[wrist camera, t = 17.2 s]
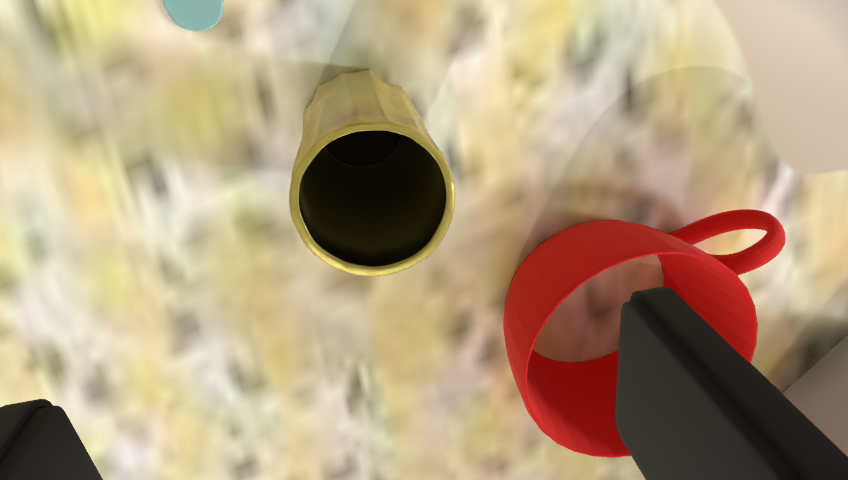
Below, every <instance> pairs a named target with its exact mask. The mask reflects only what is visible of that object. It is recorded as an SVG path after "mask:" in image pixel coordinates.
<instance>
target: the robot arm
mask: <svg viewBox="0 0 848 480" xmlns="http://www.w3.org/2000/svg"><path fill="white" fill-rule="evenodd" d="M615 422H616V426H617V430H618V433H619V435H620V437H621V439H622V441H623V442H624V444H625V446H626V447H627V449H628V451H629V452H630V454H631V456H632V457H633V459H634V461H635V462H636V464H637V466H638V467H639V469H640V471H641V472H642V474H643V476H644V477H645V479H646V480H848V456H847V455H845V454H844V453H843V452H842V451H841V450H840V449H839V448H838V447H837V446H836V445H835V444H834V443H833V442H832V441H831V440H830V439H829V438H828V437H827V436H826V435H825V434H824V433H823V432H822V431H820V430H819V429H818V428H817V427H816V426H815V425H814V424H813V423H812V422H811V421H810V420H809V419H808V418H807V417H806V416H805V415H804V414H803V413H802V412H801V411H800V410H799V409H798V408H797V407H795V406H794V405H793V404H792V403H791V402H790V401H789V400H788V399H787V398H786V397H785V396H784V395H783V394H782V393H781V392H780V391H779V390H778V389H777V388H776V387H775V386H774V385H773V384H772V383H770V382H769V381H768V380H767V379H766V378H765V377H764V376H763V375H762V374H761V373H760V372H759V371H758V370H757V369H756V368H755V367H754V366H753V365H752V364H751V363H750V362H748V361H747V360H746V359H744V358H743V357H742V356H741V355H740V354H739V353H738V352H737V351H736V350H735V349H734V348H733V347H732V346H731V345H730V344H729V343H728V342H727V341H726V340H725V339H723V338H722V337H721V336H720V335H719V334H718V333H717V332H716V331H715V330H714V329H713V328H712V327H711V326H710V325H709V324H708V323H707V322H706V321H705V320H704V319H703V318H702V317H701V316H700V315H699V314H698V313H696V312H695V311H694V310H693V309H692V308H691V307H690V306H689V305H688V304H687V303H686V302H685V301H684V300H683V299H682V298H681V297H680V296H679V295H678V294H677V293H676V292H675V291H674V290H672V289H671V288H670V287H666V286H664V287H659V288H653V289H647V290H642V291H636V292H634V293H632V295H631V297H630V301H629V302H625V303H623V305H622V309H621V324H620V341H619V357H618V374H617V391H616V408H615ZM0 480H103V479H102V477H101V476H100V474H99V472H98V470H97V468H96V467H95V465H94V463H93V461H92V460H91V458H90V456H89V454H88V452H87V451H86V449H85V447H84V445H83V443H82V442H81V440H80V438H79V436H78V434H77V433H76V431H75V429H74V427H73V426H72V424H71V422H70V420H69V418H68V417H67V415H66V413H65V411H64V410H63V409H62V408H61V407H59V406H53V405H52V404H51V402H49V401H47V400H46V399H38V400H33V401H27V402H22V403H16V404H10V405H5V406H3V407H1V408H0Z"/></svg>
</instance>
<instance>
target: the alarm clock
mask: <svg viewBox="0 0 848 480" xmlns="http://www.w3.org/2000/svg"><path fill="white" fill-rule="evenodd" d="M782 394H783V395H784V396H785V397H786V398H787V399H788V400H789V401H790V402H791V403H792V404H793V405H794V406H795V407H797V408H798V409H799V410H800V411H801V412H802V413H803V414H804V415H805V416H806V417H807V418H808V419H809V420H810V421H811V422H812V423H813V424H814V425H815V426H816V427H817V428H818V429H819V430H820V431H822V432H823V433H824V434H825V435H826V436H827V437H828V438H829V439H830V440H831V441H832V442H833V443H834V444H835V445H836V446H837V447H838V448H839V449H840V450H841V451H842V452H843V453H844V454H845V455H847V456H848V335H847V336H846V337H844V338H843V339H842V340H841V341H840V342H839V343H838V344H837V345H836V346H834V347H833V348H832V349H831V350H830V351H829V352H828V353H827V354H826V355H825V356H823V357H822V358H821V359H820V360H819V361H818V362H817V363H816V364H815V365H813V366H812V367H811V368H810V369H809V370H808V371H807V372H805V373H804V374H803V375H802V376H801V377H800V378H799V379H798V380H796V381H795V382H794V383H793V384H792V385H791V386H790V387H789V388H788V389H786V390H785V391H784V392H783V393H782Z"/></svg>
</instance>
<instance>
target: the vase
mask: <svg viewBox="0 0 848 480" xmlns="http://www.w3.org/2000/svg"><path fill="white" fill-rule="evenodd" d="M371 130H386V131H391V132H396V133H399V134H402V136H401V139H400V141H399V143H398V145H397V147H396V149H395V150H394V152H393V153H392V154H391V155H390V156H389V157H388V158H387V159H385V160H384V161H382V162H380V163H377V164H374V165H371V166H364V167H359V166H352V165H348V164H345V163H343V162H341V161H339V160H337V159H336V158H334V157H333V156H332V155H330V154H329V153H328V152H327V151H326V149H325V147H324V146H326V145H327V144H328V143H330V142H331V141H333V140H335V139H337V138H339V137H341V136H344V135H347V134H350V133H353V132H358V131H371ZM454 202H455V186H454V181H453V178H452V174H451V172H450V169H449V166H448V164H447V161H446V159H445V157H444V155H443V153H442V152H441V151H440V149H439V148H438V147H437V145H436V144H435V142H434V141H433V139H432V138H431V136H430V135H429V133H428V131H427V129H426V128H425V126H424V124H423V122H422V120H421V118H420V117H419V116H418V114H417V112H416V110H415V108H414V106H413V104H412V102H411V101H410V99H409V98H408V96H407V94H406V93H405V91H404V90H403V88H402V87H400V86H397V85H393V84H389V83H386V82H385V81H383V80H382V79H380V78H379V77H378V76H377V75H376V74H375V73H374V72H373V71H371V70H370V69H368V70H362V71H358V72H342V73H340V74H339V75H338V76H337V77H335V78H334V79H332V80H331V81H328V82H325V83H323V84H321V85H319V86H318V88H317V90H316V93H315V96H314V99H313V101H312V102H311V103H310V104H309V106H308V107H307V108H306V109H305V111H304V120H303V136H302V140H301V143H300V147H299V150H298V153H297V156H296V160H295V163H294V166H293V170H292V179H291V186H290V193H289V204H290V213H291V216H292V220H293V222H294V224H295V226H296V228H297V230H298V232H299V234H300V236H301V238H302V240H303V241H304V243H305V244H306V246H307V247H308V248H309V249H310V250H311V251H312V253H314V254H315V255H316V256H318V257H319V258H320V259H322V260H323V261H325V262H326V263H328V264H330V265H331V266H333V267H335V268H337V269H339V270H341V271H344V272H348V273H352V274H356V275H363V276H379V275H388V274H392V273H396V272H399V271H402V270H405V269H407V268H409V267H411V266H413V265H415V264H417V263H418V262H420V261H422V260H423V259H424V258H426V257H427V256H428V255H430V254H431V253H432V252H433V251H434V249H435V248H436V247H437V246H438V244H439V243H440V241H441V240H442V238H443V237H444V235H445V233H446V231H447V230H448V227H449V225H450V222H451V218H452V214H453V209H454Z"/></svg>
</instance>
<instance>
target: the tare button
mask: <svg viewBox="0 0 848 480" xmlns="http://www.w3.org/2000/svg"><path fill="white" fill-rule="evenodd" d="M163 4H164V7H165V9H166V11H167V13H168V15H169V16H170V17H171V19H172V20H173V21H174V22H175V23H177V24H178V25H179V26H181V27H183V28H185V29H187V30H191V31H205V30H208V29H210V28H212V27H213V26H214V25H216V23H217V22H218V21H219V20H220V18H221V16H222V13H223V0H163Z"/></svg>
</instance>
